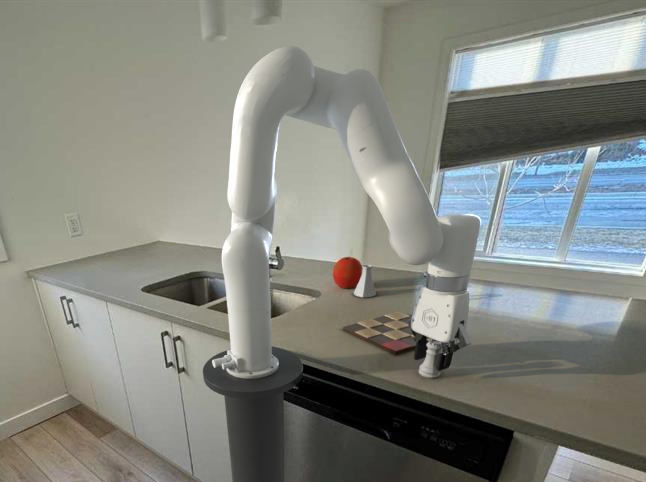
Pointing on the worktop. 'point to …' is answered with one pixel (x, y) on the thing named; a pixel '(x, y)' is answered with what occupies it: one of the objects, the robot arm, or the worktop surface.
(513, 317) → the worktop surface
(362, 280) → the flask
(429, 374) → the rook chess piece
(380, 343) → the board
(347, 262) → the apple
